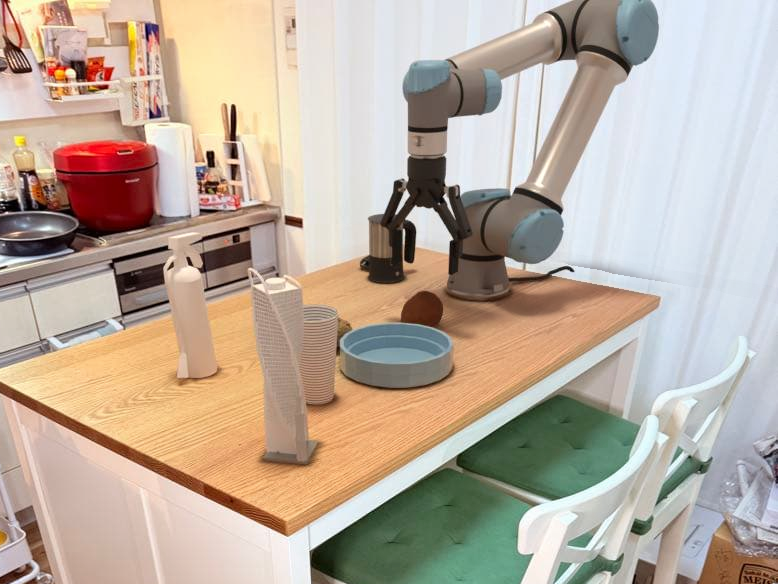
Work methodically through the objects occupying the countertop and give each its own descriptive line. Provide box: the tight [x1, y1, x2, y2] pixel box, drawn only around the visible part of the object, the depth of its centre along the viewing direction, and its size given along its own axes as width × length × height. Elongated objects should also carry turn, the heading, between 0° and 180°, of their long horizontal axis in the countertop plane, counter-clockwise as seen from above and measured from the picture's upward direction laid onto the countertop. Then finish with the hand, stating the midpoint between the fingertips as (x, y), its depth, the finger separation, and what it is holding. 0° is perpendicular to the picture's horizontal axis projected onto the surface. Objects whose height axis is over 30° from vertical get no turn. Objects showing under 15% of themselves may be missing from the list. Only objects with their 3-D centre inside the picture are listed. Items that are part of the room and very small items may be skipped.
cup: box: [299, 304, 339, 405], centre depth 133 cm, size 8×8×16 cm
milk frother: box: [359, 213, 417, 284], centre depth 196 cm, size 14×16×15 cm
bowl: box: [339, 322, 455, 389], centre depth 148 cm, size 22×22×5 cm
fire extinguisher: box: [162, 231, 218, 379], centre depth 140 cm, size 7×12×25 cm, turn 153°
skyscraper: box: [247, 267, 319, 466], centre depth 114 cm, size 8×8×28 cm
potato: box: [400, 290, 445, 328], centre depth 165 cm, size 8×12×8 cm, turn 140°
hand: (424, 268), depth 160 cm, fingers open, 13 cm apart
